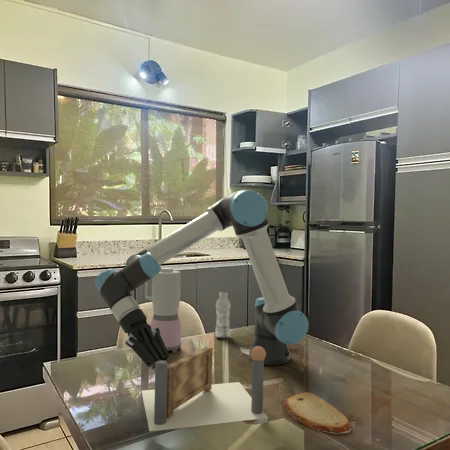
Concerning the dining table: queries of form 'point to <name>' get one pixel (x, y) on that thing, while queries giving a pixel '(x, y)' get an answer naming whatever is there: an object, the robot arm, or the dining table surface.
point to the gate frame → (208, 401)
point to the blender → (166, 306)
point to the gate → (188, 378)
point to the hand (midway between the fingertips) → (173, 383)
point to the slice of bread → (315, 413)
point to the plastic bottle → (222, 316)
